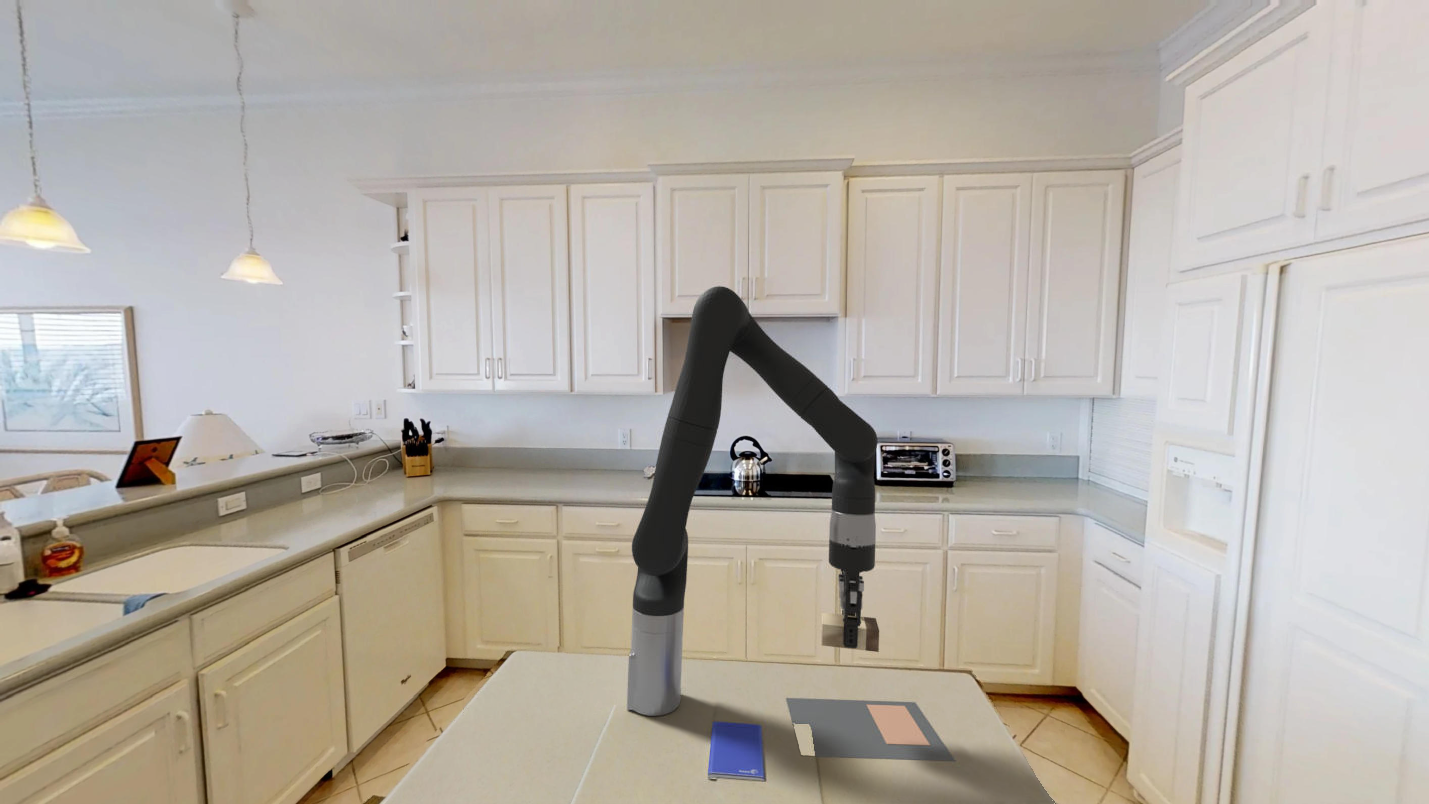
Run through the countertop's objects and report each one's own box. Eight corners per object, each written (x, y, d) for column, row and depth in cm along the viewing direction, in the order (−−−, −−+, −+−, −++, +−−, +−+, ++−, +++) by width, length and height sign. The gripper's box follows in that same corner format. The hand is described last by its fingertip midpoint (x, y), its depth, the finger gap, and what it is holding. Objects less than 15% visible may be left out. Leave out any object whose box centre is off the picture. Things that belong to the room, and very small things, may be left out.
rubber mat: (800, 758, 81) (800, 755, 81) (785, 700, 97) (785, 697, 97) (955, 763, 81) (955, 760, 81) (915, 704, 97) (915, 701, 97)
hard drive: (764, 776, 75) (761, 724, 88) (707, 772, 76) (712, 720, 88) (764, 787, 75) (760, 733, 88) (707, 782, 76) (712, 730, 88)
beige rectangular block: (821, 645, 87) (822, 624, 87) (821, 632, 91) (821, 612, 91) (878, 652, 85) (879, 630, 85) (875, 638, 90) (875, 618, 90)
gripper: (828, 526, 96) (825, 620, 96) (830, 547, 82) (827, 656, 82) (870, 529, 95) (868, 624, 94) (880, 551, 80) (877, 662, 80)
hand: (849, 638), depth 88 cm, fingers closed on beige rectangular block, 5 cm apart
